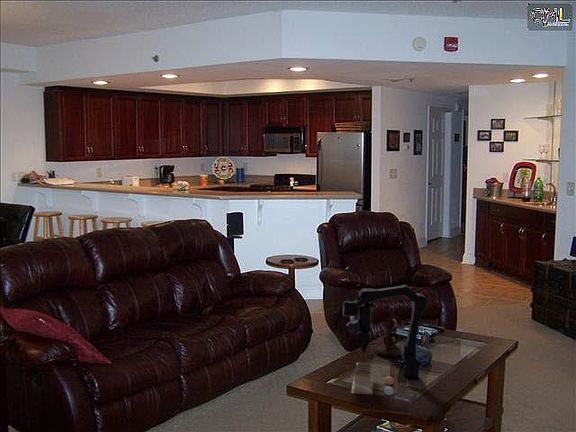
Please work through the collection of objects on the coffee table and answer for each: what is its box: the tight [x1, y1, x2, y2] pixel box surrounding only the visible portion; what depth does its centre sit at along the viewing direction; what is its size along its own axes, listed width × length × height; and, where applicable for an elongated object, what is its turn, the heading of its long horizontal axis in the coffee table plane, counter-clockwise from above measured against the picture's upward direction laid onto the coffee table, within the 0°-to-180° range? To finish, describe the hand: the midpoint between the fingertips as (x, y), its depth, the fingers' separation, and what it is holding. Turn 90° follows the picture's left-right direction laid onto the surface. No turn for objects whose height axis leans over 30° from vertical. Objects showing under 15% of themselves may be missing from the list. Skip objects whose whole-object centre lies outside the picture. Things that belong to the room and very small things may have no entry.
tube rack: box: [350, 362, 374, 395], centre depth 289 cm, size 18×9×9 cm, turn 171°
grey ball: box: [383, 385, 394, 396], centre depth 281 cm, size 4×4×4 cm
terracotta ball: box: [384, 375, 394, 386], centre depth 294 cm, size 4×4×4 cm
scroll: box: [375, 314, 402, 359], centre depth 337 cm, size 15×15×20 cm
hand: (364, 348), depth 304 cm, fingers open, 9 cm apart
